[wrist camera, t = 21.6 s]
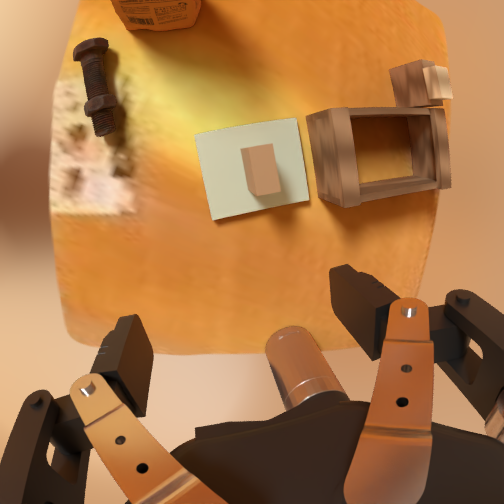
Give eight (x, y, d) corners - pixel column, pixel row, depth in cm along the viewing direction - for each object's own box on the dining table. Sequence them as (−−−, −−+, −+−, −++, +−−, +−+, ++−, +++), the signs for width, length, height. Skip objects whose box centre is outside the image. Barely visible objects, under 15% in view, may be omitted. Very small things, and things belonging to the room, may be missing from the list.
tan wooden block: (440, 100, 34) (453, 98, 31) (428, 99, 33) (441, 97, 31) (434, 70, 32) (446, 67, 29) (422, 68, 32) (435, 65, 29)
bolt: (108, 136, 39) (93, 53, 33) (131, 126, 37) (114, 39, 31) (81, 142, 34) (65, 53, 28) (102, 131, 32) (86, 36, 26)
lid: (305, 198, 45) (328, 208, 37) (211, 217, 44) (214, 232, 36) (292, 118, 41) (313, 111, 33) (194, 135, 40) (192, 130, 31)
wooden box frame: (417, 180, 47) (451, 187, 39) (318, 197, 45) (344, 208, 37) (401, 70, 40) (434, 61, 32) (295, 68, 38) (318, 50, 30)
